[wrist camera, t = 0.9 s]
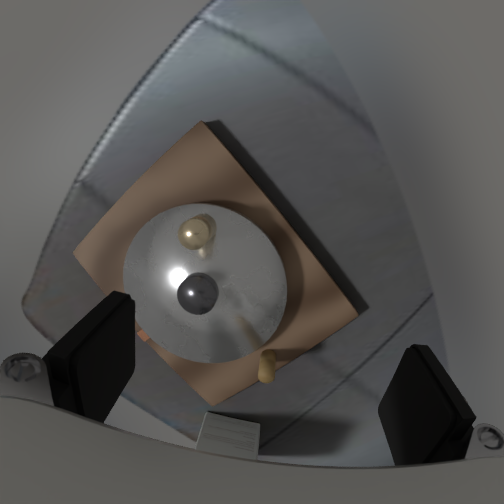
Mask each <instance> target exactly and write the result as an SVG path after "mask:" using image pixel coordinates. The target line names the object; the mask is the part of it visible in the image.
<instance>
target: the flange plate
mask: <svg viewBox="0 0 504 504" xmlns="http://www.w3.org/2000/svg"><path fill="white" fill-rule="evenodd" d="M123 285H124V292H125V293H126V294H130V296H131V299H133V300H135V320H136V321H137V323H138V324H139V326H140V327H141V329H140V330H139V331H138V333H137V334H138V335H139V336H140V337H141V338H142V340H143V341H144V342H145V341H146V340H148V339H149V338H151V339H152V340H153V341H154V342H156V343H157V344H158V345H159V346H161V347H162V348H164V349H165V350H167V351H169V352H170V353H172V354H174V355H177V356H179V357H182V358H184V359H187V360H191V361H195V362H202V363H223V362H229V361H233V360H237V359H240V358H242V357H245V356H247V355H249V354H251V353H252V352H254V351H256V350H257V349H258V348H260V347H261V346H262V345H263V344H264V343H265V342H266V341H267V340H268V339H269V338H270V337H271V336H272V335H273V333H274V332H275V331H276V329H277V327H278V325H279V323H280V322H281V319H282V316H283V314H284V310H285V306H286V300H287V280H286V272H285V268H284V264H283V261H282V259H281V256H280V254H279V252H278V250H277V248H276V246H275V244H274V243H273V241H272V240H271V239H270V237H269V236H268V235H267V234H266V233H265V231H264V230H263V229H262V228H261V227H260V226H259V225H257V224H256V223H255V222H254V221H252V220H251V219H250V218H248V217H247V216H245V215H243V214H242V213H240V212H238V211H235V210H233V209H231V208H228V207H225V206H221V205H217V204H211V203H191V204H184V205H180V206H177V207H174V208H171V209H169V210H166V211H164V212H162V213H160V214H158V215H157V216H155V217H153V218H152V219H151V220H149V221H148V222H147V223H146V224H145V225H144V226H143V227H142V228H141V229H140V230H139V231H138V233H137V234H136V236H135V237H134V239H133V240H132V242H131V244H130V246H129V248H128V251H127V254H126V257H125V262H124V268H123Z"/></svg>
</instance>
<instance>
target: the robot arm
mask: <svg viewBox="0 0 504 504" xmlns="http://www.w3.org/2000/svg"><path fill="white" fill-rule="evenodd" d="M134 369H135V300H133V299H131V296H130V294H126V293H122V292H118V291H112V292H111V293H110V294H109V295H108V296H107V297H106V298H104V299H103V300H102V301H101V302H100V303H99V304H98V305H97V306H96V307H95V308H93V309H92V310H91V311H90V312H89V313H88V314H87V315H86V316H85V317H84V318H83V319H81V320H80V321H79V322H78V323H77V324H76V325H75V326H74V327H73V328H72V329H71V330H70V331H69V332H68V333H67V334H65V335H64V336H63V337H62V338H61V339H60V340H59V341H58V342H57V343H56V344H55V345H54V346H53V347H52V348H51V349H50V350H49V351H48V353H47V354H46V355H45V356H44V357H43V358H42V359H41V357H39V356H37V355H35V354H31V353H17V354H13V355H11V356H9V357H7V358H6V359H5V360H3V362H2V364H1V365H0V504H504V434H503V433H502V432H501V431H500V430H499V429H498V428H496V427H495V426H493V425H490V424H479V425H477V426H476V427H475V428H473V426H472V424H473V422H474V421H475V419H476V416H475V415H474V413H473V411H472V410H471V408H470V407H469V405H468V403H467V401H466V399H465V398H464V397H463V396H462V394H461V393H460V391H459V390H458V388H457V387H456V385H455V384H454V382H453V381H452V379H451V378H450V376H449V375H448V373H447V372H446V370H445V369H444V368H443V366H442V365H441V363H440V362H439V360H438V359H437V358H436V356H435V355H434V353H433V352H432V350H431V349H430V348H429V347H428V346H427V345H417V344H413V345H411V346H410V348H407V349H406V350H405V352H404V354H403V357H402V359H401V361H400V363H399V365H398V368H397V370H396V372H395V374H394V376H393V378H392V380H391V382H390V384H389V386H388V388H387V390H386V392H385V394H384V396H383V398H382V400H381V402H380V404H379V407H378V414H379V417H380V420H381V423H382V426H383V429H384V432H385V435H386V438H387V441H388V444H389V447H390V450H391V454H392V457H393V460H394V463H395V466H379V467H335V466H313V465H298V464H287V463H277V462H268V461H260V460H253V459H246V458H239V457H233V456H227V455H222V454H216V453H211V452H206V451H201V450H196V449H192V448H187V447H183V446H179V445H175V444H171V443H167V442H163V441H159V440H156V439H152V438H148V437H145V436H142V435H138V434H135V433H132V432H128V431H125V430H122V429H119V428H116V427H113V426H110V425H107V424H104V421H105V419H106V418H107V416H108V414H109V413H110V411H111V409H112V407H113V406H114V404H115V403H116V401H117V399H118V397H119V396H120V394H121V393H122V391H123V389H124V388H125V386H126V384H127V383H128V381H129V379H130V378H131V376H132V374H133V372H134Z"/></svg>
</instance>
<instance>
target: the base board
mask: <svg viewBox="0 0 504 504" xmlns="http://www.w3.org/2000/svg"><path fill="white" fill-rule="evenodd" d="M191 203H211V204H217V205H221V206H225V207H228V208H231V209H233V210H235V211H238V212H240V213H242V214H243V215H245V216H247V217H248V218H250V219H251V220H252V221H254V222H255V223H256V224H257V225H259V226H260V227H261V228H262V229H263V230H264V231H265V233H266V234H267V235H268V236H269V237H270V239H271V240H272V241H273V243H274V244H275V246H276V248H277V250H278V252H279V254H280V256H281V259H282V261H283V264H284V268H285V272H286V280H287V300H286V306H285V310H284V314H283V316H282V319H281V322H280V323H279V325H278V327H277V329H276V331H275V332H274V333H273V335H272V336H271V337H270V338H269V339H268V340H267V341H266V342H265V343H264V344H263V345H262V346H261V347H260V348H258V349H257V350H256V351H254V352H252V353H251V354H249V355H247V356H245V357H242V358H240V359H237V360H233V361H229V362H223V363H202V362H195V361H191V360H187V359H184V358H182V357H179V356H177V355H174V354H172V353H170V352H169V351H167V350H165V349H164V348H162V347H161V346H159V345H158V344H157V343H156V342H154V341H153V340H152V339H151V338H149V339H148V340H146V342H147V343H148V344H149V345H150V346H151V347H152V348H153V349H154V350H155V351H156V352H157V353H158V354H159V355H160V356H161V357H162V358H163V359H164V360H165V361H166V362H167V363H168V365H169V366H170V367H171V368H172V369H173V370H174V371H175V372H176V373H177V374H179V375H180V376H181V377H182V378H183V379H184V380H185V381H186V382H187V383H188V384H189V385H190V386H191V387H192V388H193V389H194V390H195V391H196V392H197V393H198V394H199V395H200V396H202V397H203V398H204V399H205V400H206V401H207V402H208V403H209V404H210V405H211V406H214V405H216V404H218V403H220V402H222V401H224V400H225V399H227V398H229V397H231V396H233V395H234V394H236V393H238V392H240V391H242V390H243V389H245V388H247V387H249V386H250V385H252V384H254V383H256V382H257V381H259V380H260V381H261V382H263V383H270V382H272V381H273V380H274V378H275V371H276V370H277V369H279V368H281V367H282V366H284V365H285V364H287V363H289V362H290V361H292V360H293V359H295V358H297V357H298V356H300V355H301V354H303V353H304V352H306V351H308V350H309V349H311V348H312V347H314V346H315V345H317V344H318V343H320V342H321V341H323V340H324V339H326V338H327V337H329V336H330V335H332V334H333V333H334V332H336V331H337V330H339V329H340V328H342V327H343V326H345V325H346V324H347V323H349V322H350V321H352V320H353V319H355V318H356V317H357V316H359V314H358V312H357V310H356V309H355V307H354V306H353V305H352V303H351V302H350V301H349V299H348V298H347V297H346V295H345V294H344V293H343V291H342V290H341V289H340V287H339V286H338V285H337V283H336V282H335V281H334V279H333V278H332V277H331V276H330V274H329V273H328V272H327V270H326V269H325V268H324V266H323V265H322V264H321V263H320V261H319V260H318V259H317V257H316V256H315V255H314V254H313V252H312V251H311V250H310V248H309V247H308V246H307V245H306V243H305V242H304V241H303V240H302V238H301V237H300V236H299V235H298V233H297V232H296V231H295V230H294V228H293V227H292V226H291V225H290V223H289V222H288V221H287V220H286V218H285V217H284V216H283V215H282V213H281V212H280V211H279V210H278V208H277V207H276V206H275V205H274V204H273V202H272V201H271V200H270V199H269V197H268V196H267V195H266V194H265V193H264V191H263V190H262V189H261V188H260V187H259V185H258V184H257V183H256V182H255V181H254V179H253V178H252V177H251V176H250V175H249V173H248V172H247V171H246V170H245V169H244V167H243V166H242V165H241V164H240V163H239V162H238V160H237V159H236V158H235V157H234V156H233V154H232V153H231V152H230V151H229V150H228V149H227V147H226V146H225V145H224V144H223V143H222V142H221V141H220V139H219V138H218V137H217V136H216V135H215V134H214V132H213V131H212V130H211V129H210V128H209V127H208V126H207V124H206V123H205V122H203V121H200V122H199V123H197V124H196V125H195V126H194V127H193V128H192V129H191V130H189V131H188V132H187V133H186V134H185V135H184V136H183V137H182V138H181V139H180V140H178V141H177V142H176V143H175V144H174V145H173V146H172V147H171V148H170V149H169V150H168V151H167V152H166V153H165V154H164V155H162V156H161V157H160V158H159V159H158V160H157V161H156V162H155V163H154V164H153V165H152V166H151V167H150V168H149V169H148V170H147V171H146V172H145V173H144V174H143V175H142V176H141V177H140V178H139V179H138V180H137V181H136V182H135V183H134V184H133V185H132V186H131V187H130V188H129V189H128V190H127V192H126V193H125V194H124V195H123V196H122V197H121V198H120V199H119V200H118V201H117V202H116V203H115V204H114V205H113V206H112V208H111V209H110V210H109V211H108V212H107V213H106V214H105V215H104V216H103V218H102V219H101V220H100V221H99V222H98V223H97V224H96V225H95V227H94V228H93V229H92V230H91V231H90V232H89V233H88V235H87V236H86V237H85V238H84V239H83V241H82V242H81V243H80V244H79V245H78V247H77V248H76V249H75V250H74V251H73V254H74V255H75V257H76V258H77V259H78V261H79V262H80V263H81V265H82V266H83V267H84V269H85V270H86V271H87V272H88V274H89V275H90V276H91V278H92V279H93V280H94V281H95V283H96V284H97V285H98V286H99V288H100V289H101V290H102V291H103V292H104V294H105V295H106V296H108V295H109V294H110V293H111V292H112V291H118V292H122V293H125V292H124V285H123V268H124V262H125V257H126V254H127V251H128V248H129V246H130V244H131V242H132V240H133V239H134V237H135V236H136V234H137V233H138V231H139V230H140V229H141V228H142V227H143V226H144V225H145V224H146V223H147V222H148V221H149V220H151V219H152V218H153V217H155V216H157V215H158V214H160V213H162V212H164V211H166V210H169V209H171V208H174V207H177V206H180V205H184V204H191ZM140 329H141V327H140V326H139V324H138V323H137V321H136V320H135V330H136V331H137V332H138V331H139V330H140Z"/></svg>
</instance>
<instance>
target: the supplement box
mask: <svg viewBox="0 0 504 504" xmlns="http://www.w3.org/2000/svg"><path fill="white" fill-rule="evenodd" d="M259 435H260V424H259V423H254V422H249V421H244V420H239V419H235V418H230V417H226V416H222V415H218V414H214V413H210V412H206V414H205V418H204V421H203V424H202V427H201V430H200V434H199V437H198V440H197V443H196V446H195V449H196V450H201V451H206V452H211V453H216V454H222V455H227V456H233V457H239V458H246V459H253V460H257V458H258V448H259Z"/></svg>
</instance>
